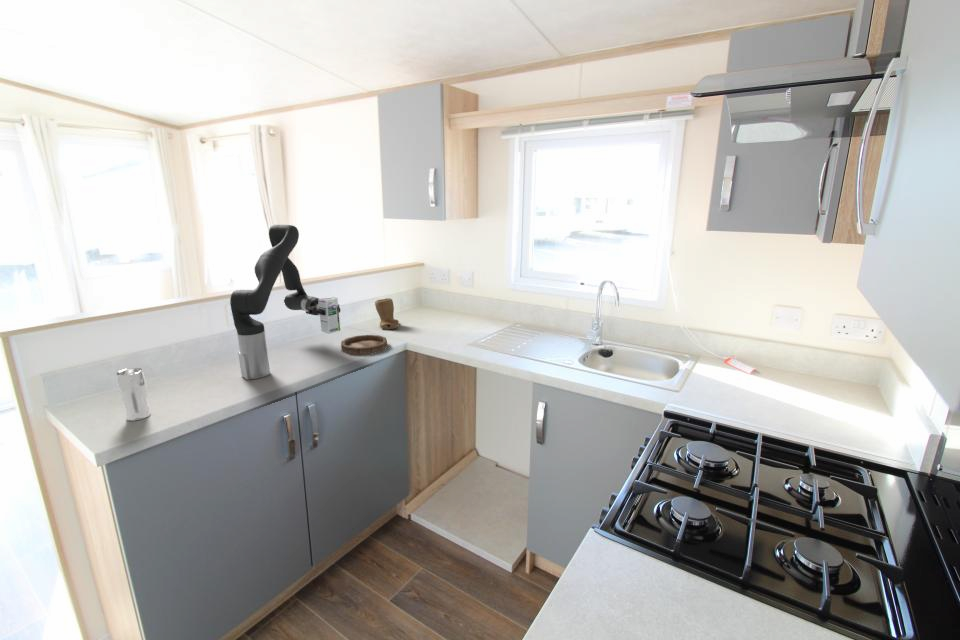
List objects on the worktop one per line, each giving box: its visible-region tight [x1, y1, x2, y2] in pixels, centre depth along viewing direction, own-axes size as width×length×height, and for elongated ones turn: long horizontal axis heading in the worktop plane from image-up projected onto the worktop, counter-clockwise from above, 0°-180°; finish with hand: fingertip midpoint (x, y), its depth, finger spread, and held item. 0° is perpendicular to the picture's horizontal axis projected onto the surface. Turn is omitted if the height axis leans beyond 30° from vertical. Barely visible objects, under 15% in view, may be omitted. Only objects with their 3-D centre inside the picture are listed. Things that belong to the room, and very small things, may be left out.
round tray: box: [340, 334, 388, 356], centre depth 206 cm, size 20×20×3 cm
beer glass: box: [115, 367, 152, 422], centre depth 140 cm, size 7×7×15 cm
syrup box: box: [318, 296, 341, 335], centre depth 192 cm, size 6×6×14 cm
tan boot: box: [374, 297, 399, 330], centre depth 239 cm, size 15×12×15 cm
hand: (332, 311), depth 190 cm, fingers closed on syrup box, 6 cm apart
